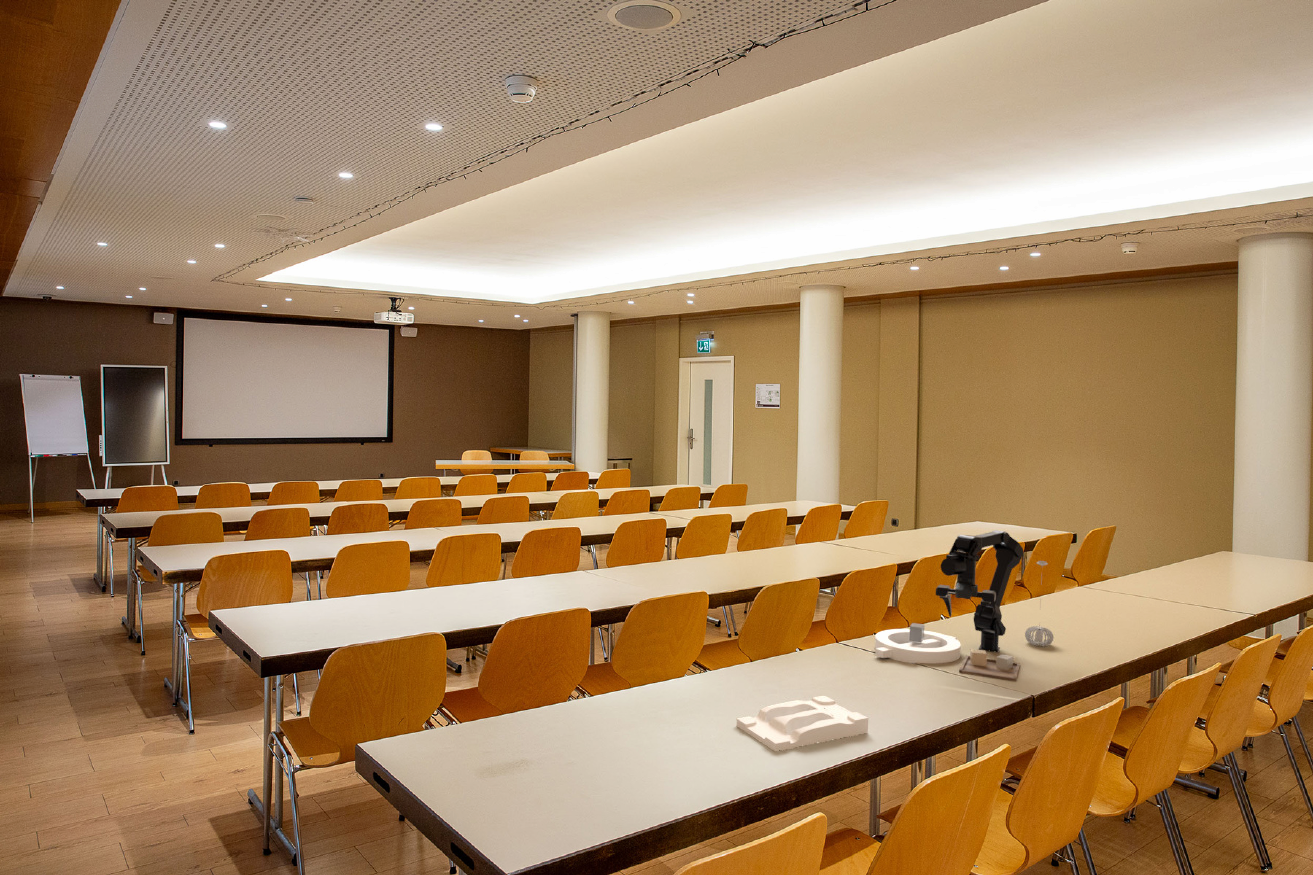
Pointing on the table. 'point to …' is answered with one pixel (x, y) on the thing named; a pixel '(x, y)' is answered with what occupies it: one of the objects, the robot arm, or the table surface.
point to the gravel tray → (989, 670)
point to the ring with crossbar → (916, 647)
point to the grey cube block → (916, 632)
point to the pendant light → (1039, 628)
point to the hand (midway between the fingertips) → (964, 618)
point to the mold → (803, 723)
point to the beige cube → (1004, 662)
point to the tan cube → (978, 657)
